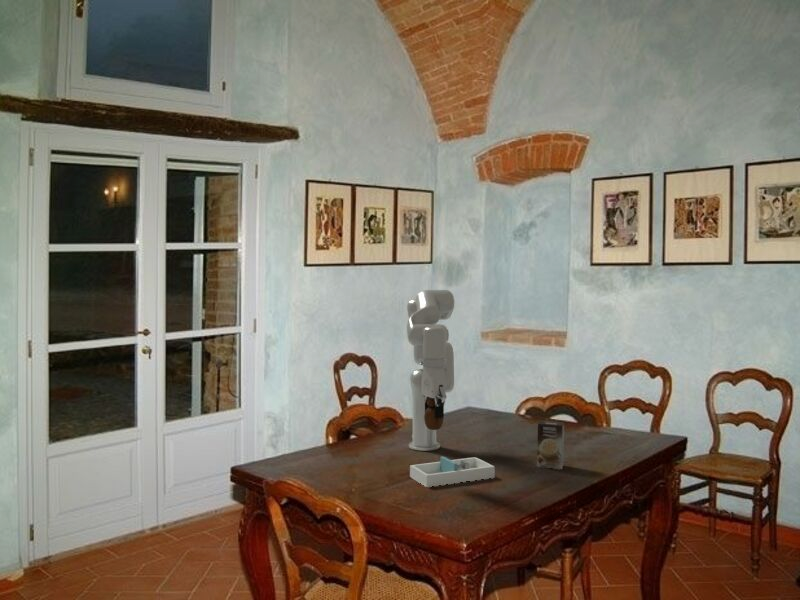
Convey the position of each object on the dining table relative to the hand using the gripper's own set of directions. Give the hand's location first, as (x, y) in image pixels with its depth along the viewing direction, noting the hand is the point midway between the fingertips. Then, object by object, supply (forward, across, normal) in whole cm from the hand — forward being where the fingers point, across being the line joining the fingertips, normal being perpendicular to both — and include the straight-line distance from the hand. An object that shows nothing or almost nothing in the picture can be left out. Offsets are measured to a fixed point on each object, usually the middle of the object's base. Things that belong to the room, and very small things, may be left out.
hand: (434, 415), depth 238 cm
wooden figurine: (+5, 0, 0) cm, 5 cm away
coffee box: (+22, +2, +46) cm, 51 cm away
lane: (+22, 0, +7) cm, 23 cm away
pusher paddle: (+21, 0, +9) cm, 23 cm away
